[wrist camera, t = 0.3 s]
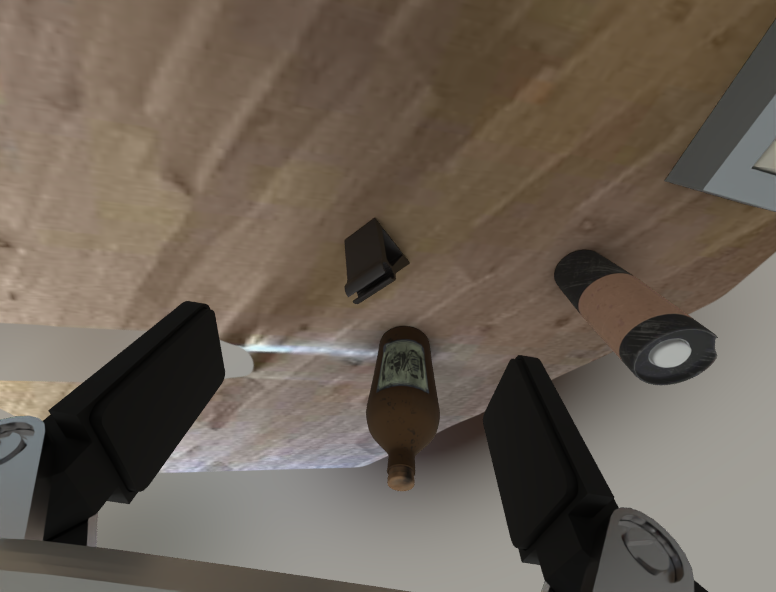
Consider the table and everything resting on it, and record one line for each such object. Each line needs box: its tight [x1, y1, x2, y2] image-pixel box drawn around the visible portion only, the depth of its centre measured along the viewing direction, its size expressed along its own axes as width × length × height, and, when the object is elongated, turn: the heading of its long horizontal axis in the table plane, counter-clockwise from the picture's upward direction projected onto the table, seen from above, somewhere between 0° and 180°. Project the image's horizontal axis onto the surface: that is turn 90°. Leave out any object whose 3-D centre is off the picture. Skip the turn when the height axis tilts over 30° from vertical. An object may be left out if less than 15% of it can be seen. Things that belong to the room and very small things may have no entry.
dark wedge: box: [345, 218, 410, 304], centre depth 42 cm, size 9×6×12 cm, turn 37°
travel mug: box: [554, 250, 718, 385], centre depth 38 cm, size 8×8×20 cm
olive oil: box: [366, 326, 440, 491], centre depth 46 cm, size 11×11×25 cm
